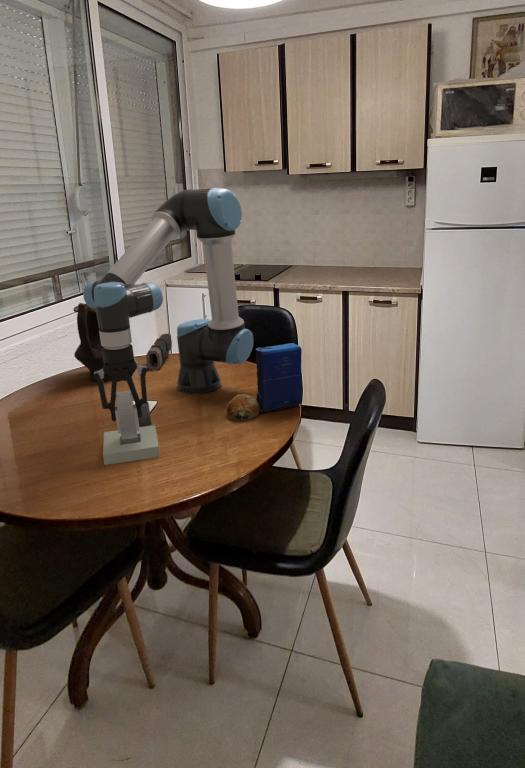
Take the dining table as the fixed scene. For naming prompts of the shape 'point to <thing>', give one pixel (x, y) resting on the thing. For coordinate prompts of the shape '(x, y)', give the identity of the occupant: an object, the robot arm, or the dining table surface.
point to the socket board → (130, 446)
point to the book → (278, 377)
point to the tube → (159, 352)
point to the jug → (89, 340)
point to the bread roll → (242, 407)
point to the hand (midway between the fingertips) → (128, 429)
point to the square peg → (126, 414)
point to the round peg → (145, 416)
